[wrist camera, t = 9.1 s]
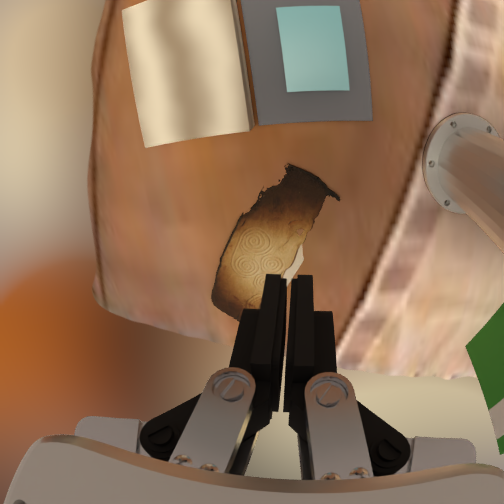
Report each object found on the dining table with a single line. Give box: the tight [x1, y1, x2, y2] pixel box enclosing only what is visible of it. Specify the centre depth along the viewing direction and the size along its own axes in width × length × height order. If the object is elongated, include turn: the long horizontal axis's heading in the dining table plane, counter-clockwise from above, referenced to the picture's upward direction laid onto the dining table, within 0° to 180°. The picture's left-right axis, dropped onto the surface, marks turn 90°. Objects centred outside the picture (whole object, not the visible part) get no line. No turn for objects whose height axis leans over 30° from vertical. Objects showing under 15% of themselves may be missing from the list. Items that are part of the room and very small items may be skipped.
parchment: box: [211, 164, 340, 322], centre depth 38 cm, size 25×10×1 cm, turn 157°
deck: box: [122, 0, 255, 148], centre depth 25 cm, size 11×16×4 cm
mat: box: [241, 0, 373, 125], centre depth 24 cm, size 12×16×1 cm
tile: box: [276, 6, 349, 92], centre depth 23 cm, size 6×9×2 cm, turn 7°
